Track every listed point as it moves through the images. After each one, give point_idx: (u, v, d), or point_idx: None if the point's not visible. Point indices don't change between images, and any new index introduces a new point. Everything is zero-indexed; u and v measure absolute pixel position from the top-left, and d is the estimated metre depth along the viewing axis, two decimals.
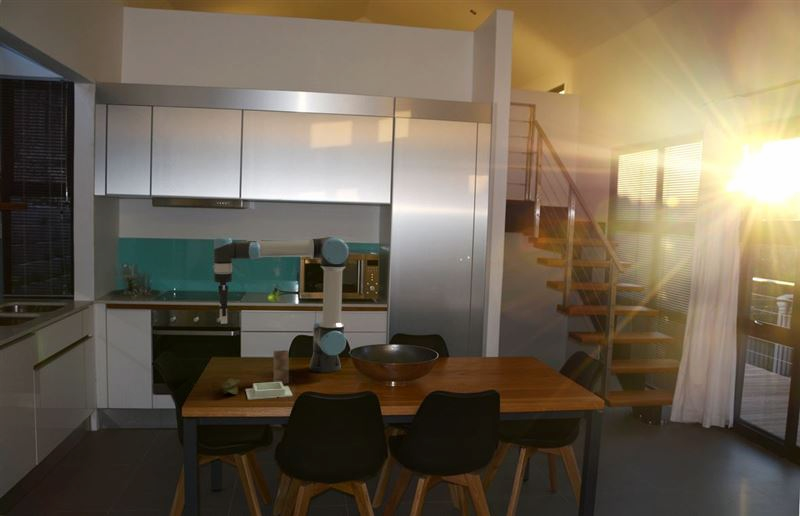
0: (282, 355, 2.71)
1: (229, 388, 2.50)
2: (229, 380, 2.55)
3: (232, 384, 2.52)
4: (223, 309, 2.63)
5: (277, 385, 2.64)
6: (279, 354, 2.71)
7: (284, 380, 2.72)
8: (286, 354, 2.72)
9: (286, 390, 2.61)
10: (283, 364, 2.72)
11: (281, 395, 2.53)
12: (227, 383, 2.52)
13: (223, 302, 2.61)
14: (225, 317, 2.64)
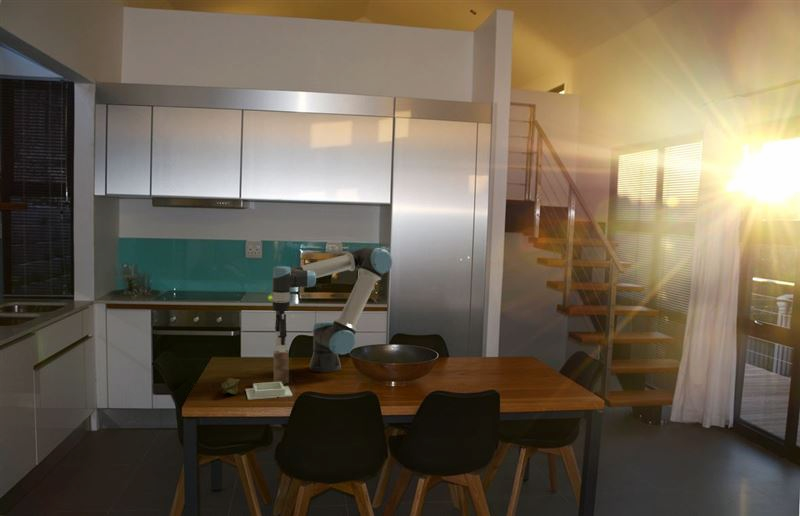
0: (282, 355, 2.71)
1: (228, 388, 2.50)
2: (229, 380, 2.55)
3: (231, 384, 2.52)
4: (282, 338, 2.65)
5: (277, 385, 2.64)
6: (279, 354, 2.71)
7: (284, 380, 2.72)
8: (286, 354, 2.72)
9: (286, 390, 2.61)
10: (283, 364, 2.72)
11: (281, 395, 2.53)
12: (226, 383, 2.52)
13: (282, 331, 2.64)
14: (283, 346, 2.66)
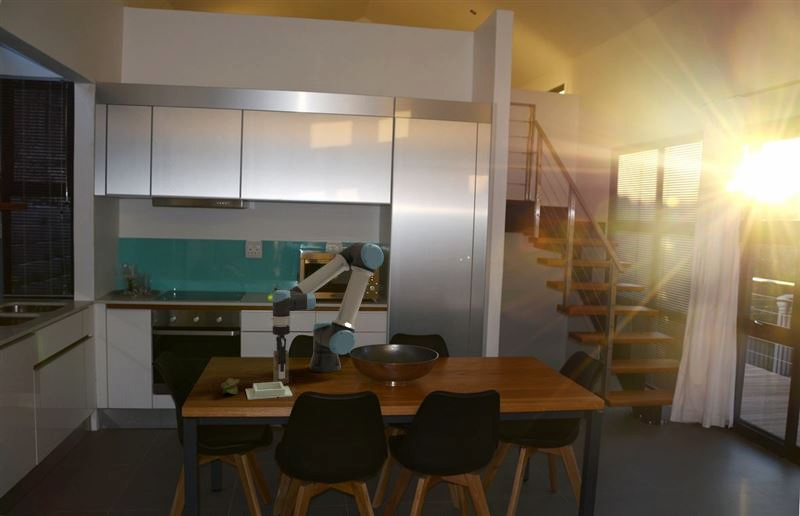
0: None
1: (228, 388, 2.50)
2: (228, 380, 2.55)
3: (231, 384, 2.52)
4: (281, 365, 2.70)
5: (277, 385, 2.64)
6: None
7: (284, 380, 2.72)
8: (286, 354, 2.72)
9: (286, 390, 2.61)
10: None
11: (281, 395, 2.53)
12: (226, 383, 2.52)
13: (282, 359, 2.68)
14: (283, 372, 2.71)
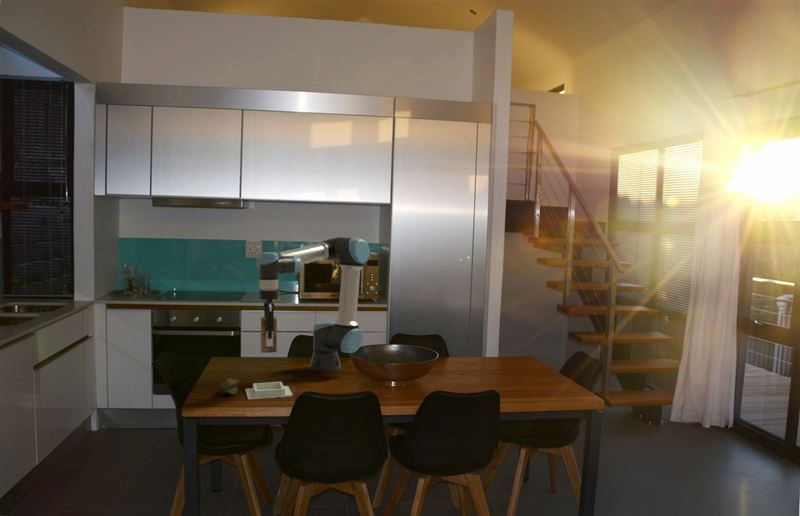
0: None
1: (227, 388, 2.51)
2: (228, 380, 2.55)
3: (230, 384, 2.52)
4: (269, 331, 2.52)
5: (277, 385, 2.64)
6: (266, 320, 2.53)
7: (271, 348, 2.55)
8: (274, 320, 2.54)
9: (286, 390, 2.61)
10: None
11: (281, 395, 2.53)
12: (225, 383, 2.52)
13: (269, 325, 2.50)
14: (271, 340, 2.54)
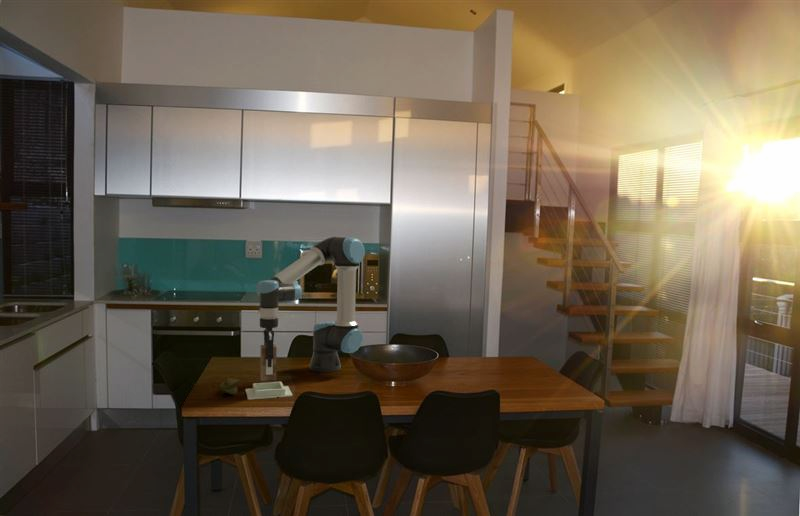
0: None
1: (227, 388, 2.51)
2: (228, 380, 2.55)
3: (230, 384, 2.52)
4: (269, 360, 2.53)
5: (277, 385, 2.64)
6: None
7: (271, 376, 2.55)
8: (274, 348, 2.55)
9: (286, 390, 2.61)
10: None
11: (281, 395, 2.53)
12: (225, 383, 2.52)
13: (269, 353, 2.51)
14: (270, 368, 2.54)
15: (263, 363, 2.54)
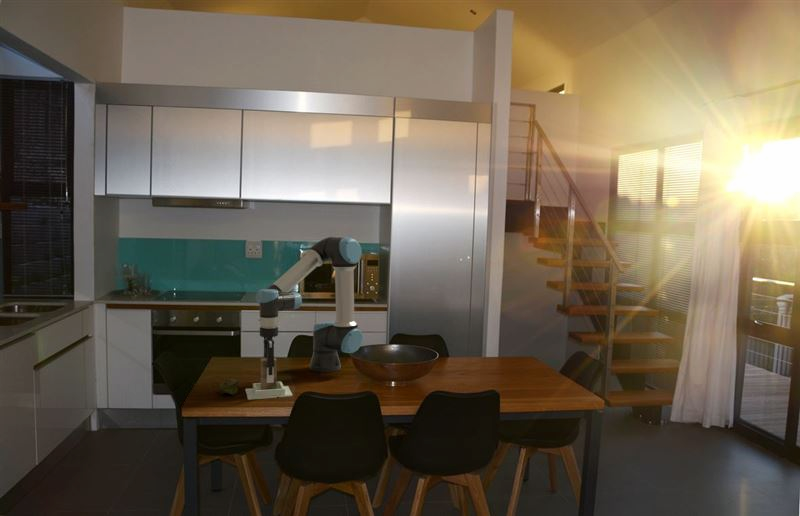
0: None
1: (226, 388, 2.51)
2: (227, 380, 2.55)
3: (230, 384, 2.52)
4: (270, 368, 2.50)
5: (277, 385, 2.64)
6: (266, 361, 2.54)
7: None
8: (274, 361, 2.55)
9: (286, 390, 2.61)
10: None
11: (281, 395, 2.53)
12: (225, 383, 2.52)
13: (270, 361, 2.49)
14: (271, 376, 2.52)
15: (263, 376, 2.54)
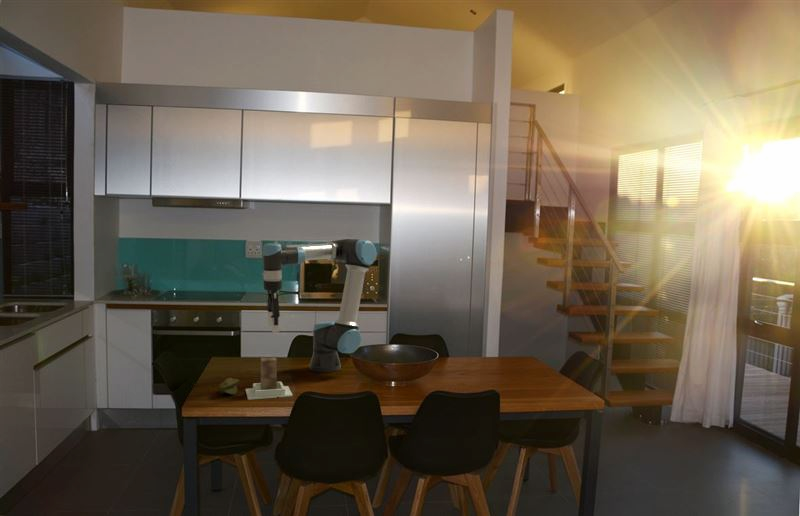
0: (270, 362, 2.55)
1: (226, 388, 2.51)
2: (227, 380, 2.55)
3: (229, 384, 2.52)
4: (275, 318, 2.54)
5: (277, 385, 2.64)
6: (266, 361, 2.54)
7: None
8: (274, 361, 2.55)
9: (286, 390, 2.61)
10: (271, 372, 2.55)
11: (281, 395, 2.53)
12: (224, 383, 2.52)
13: (275, 311, 2.52)
14: (277, 326, 2.55)
15: (263, 376, 2.54)
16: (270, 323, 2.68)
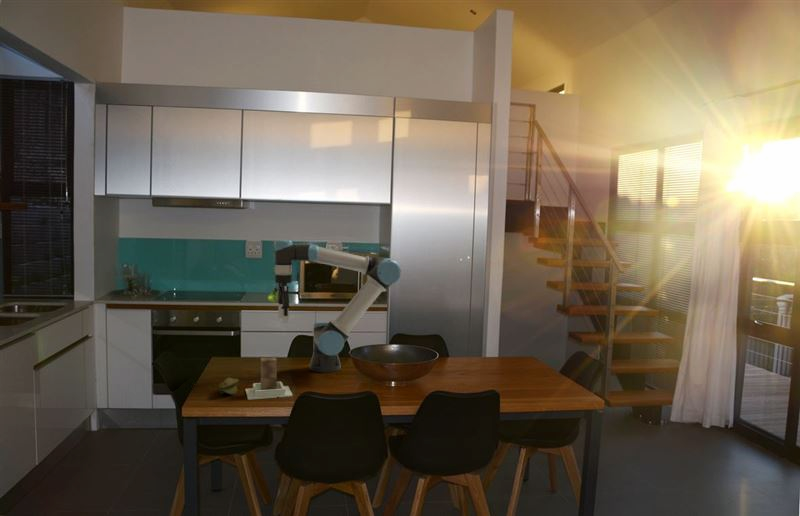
0: (270, 362, 2.55)
1: (225, 388, 2.51)
2: (227, 380, 2.55)
3: (229, 384, 2.52)
4: (285, 309, 2.72)
5: (277, 385, 2.64)
6: (266, 361, 2.54)
7: None
8: (274, 361, 2.55)
9: (286, 390, 2.61)
10: (271, 372, 2.55)
11: (281, 395, 2.53)
12: (224, 383, 2.52)
13: (285, 302, 2.71)
14: (286, 317, 2.74)
15: (263, 376, 2.54)
16: (280, 314, 2.87)
